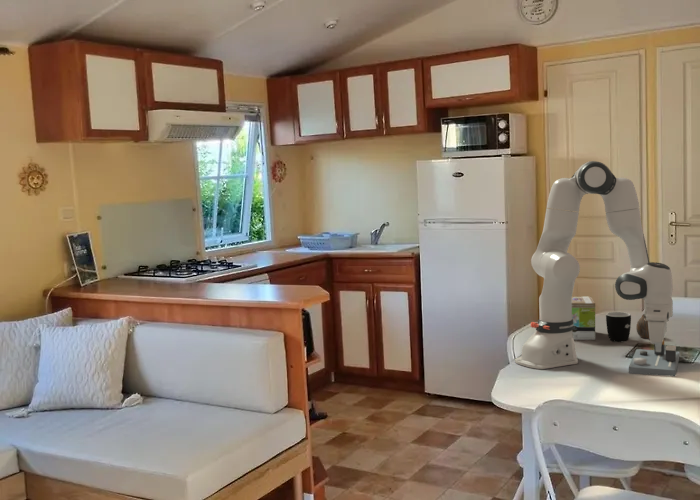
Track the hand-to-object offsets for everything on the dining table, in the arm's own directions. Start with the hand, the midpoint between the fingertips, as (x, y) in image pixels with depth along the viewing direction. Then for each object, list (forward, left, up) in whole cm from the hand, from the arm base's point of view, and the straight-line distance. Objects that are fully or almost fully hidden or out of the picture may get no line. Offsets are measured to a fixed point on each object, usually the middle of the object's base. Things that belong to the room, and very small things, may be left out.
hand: (658, 351), depth 257 cm
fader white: (-1, -5, -2) cm, 6 cm away
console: (-3, -1, -4) cm, 5 cm away
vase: (+27, +26, -4) cm, 38 cm away
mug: (+17, +30, -4) cm, 35 cm away
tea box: (+11, +44, -4) cm, 46 cm away
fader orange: (+3, +2, -2) cm, 4 cm away
